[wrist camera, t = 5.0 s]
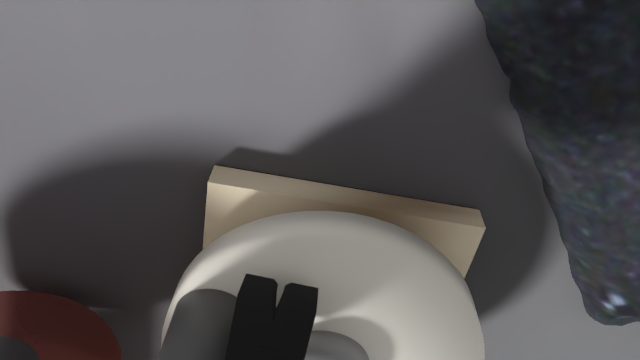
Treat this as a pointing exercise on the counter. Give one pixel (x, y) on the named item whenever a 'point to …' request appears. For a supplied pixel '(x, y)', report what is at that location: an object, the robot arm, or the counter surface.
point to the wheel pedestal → (337, 209)
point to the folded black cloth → (581, 132)
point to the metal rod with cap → (52, 329)
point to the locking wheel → (331, 290)
